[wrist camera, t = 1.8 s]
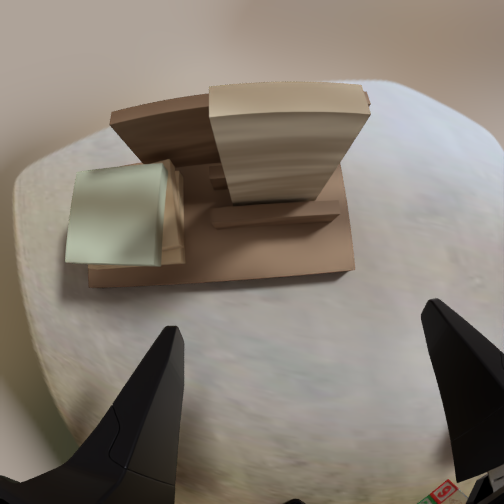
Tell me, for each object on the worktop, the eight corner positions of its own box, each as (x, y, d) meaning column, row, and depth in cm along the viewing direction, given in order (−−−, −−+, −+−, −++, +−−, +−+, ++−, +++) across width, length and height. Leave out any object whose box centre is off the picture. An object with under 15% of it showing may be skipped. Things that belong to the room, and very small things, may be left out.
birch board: (311, 206, 22) (370, 114, 9) (234, 211, 22) (209, 117, 9) (309, 188, 22) (361, 85, 9) (233, 192, 22) (208, 86, 9)
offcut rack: (349, 270, 23) (403, 259, 14) (97, 287, 23) (26, 284, 14) (332, 153, 24) (366, 91, 15) (99, 177, 24) (43, 134, 15)
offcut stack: (189, 268, 22) (173, 263, 17) (95, 274, 22) (65, 270, 17) (187, 172, 23) (172, 148, 18) (98, 187, 23) (71, 168, 18)
